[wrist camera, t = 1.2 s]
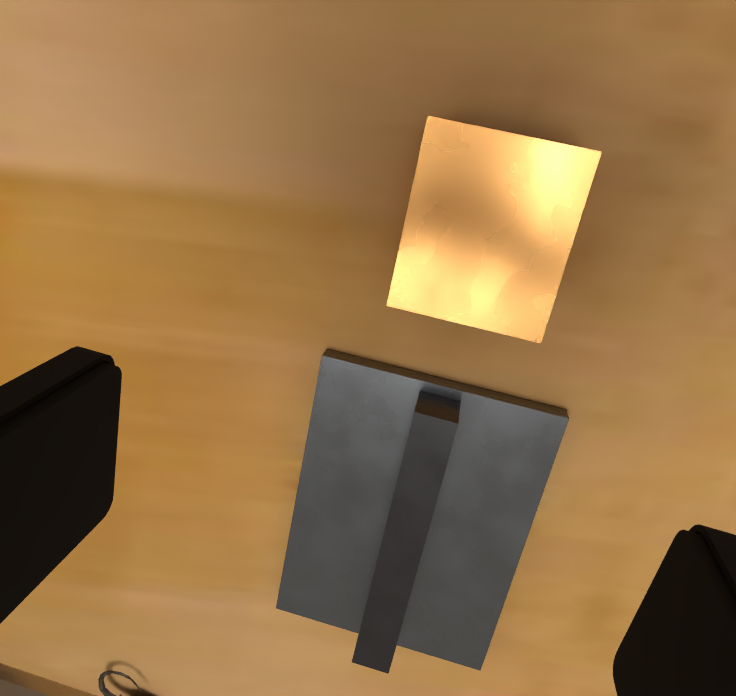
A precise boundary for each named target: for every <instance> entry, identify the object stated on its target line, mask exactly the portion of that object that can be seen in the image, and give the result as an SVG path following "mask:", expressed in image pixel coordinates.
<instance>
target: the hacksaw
mask: <svg viewBox="0 0 736 696" xmlns="http://www.w3.org/2000/svg"><path fill="white" fill-rule="evenodd" d="M111 673H114V674H118V675H121V676H124V677H126V678H128V679H130V680H131V681H132V682H133V683H134V684H135V685H136V686H137V688H138V689H139V690H140V688H139V687H138V685H137V684H136V683H135V682H134V681H133V680H132V679H131V678H130V677H129V676H127V675H125V674H123V673H121V672H116V671H111V670H110V671H106V672H104V673H102V674H101V675H100V677H99V689H100V691H101V692H102V693H103V695H104V696H116V695H114V694H112V693H111V692H110V691H109V690H108V689H107V688H105V684H104V680H103V679H104V677H105V676H106V675H108V674H111ZM140 692H142V691H141V690H140ZM120 696H122V695H121V694H120Z"/></svg>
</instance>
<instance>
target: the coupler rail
mask: <svg viewBox="0 0 736 696" xmlns="http://www.w3.org/2000/svg"><path fill="white" fill-rule="evenodd" d="M568 420H569V417H568V414H567V410H566V409H562V408H558V407H554V406H550V405H546V404H542V403H538V402H534V401H530V400H526V399H522V398H518V397H514V396H510V395H507V394H503V393H499V392H495V391H491V390H487V389H483V388H479V387H475V386H471V385H467V384H463V383H459V382H455V381H452V380H448V379H444V378H440V377H436V376H432V375H428V374H424V373H420V372H416V371H412V370H408V369H404V368H400V367H397V366H393V365H389V364H385V363H381V362H377V361H373V360H369V359H365V358H361V357H357V356H353V355H349V354H345V353H341V352H338V351H334V350H330V349H327V350H326V351H325V352H324V354H323V355H322V358H321V364H320V369H319V375H318V380H317V386H316V391H315V397H314V402H313V408H312V413H311V419H310V424H309V430H308V435H307V441H306V446H305V452H304V457H303V463H302V468H301V474H300V479H299V485H298V490H297V496H296V501H295V507H294V512H293V517H292V523H291V528H290V534H289V539H288V545H287V550H286V556H285V561H284V567H283V572H282V578H281V583H280V589H279V594H278V600H277V605H276V608H277V609H280V610H283V611H287V612H290V613H293V614H297V615H300V616H303V617H306V618H310V619H313V620H316V621H320V622H323V623H326V624H329V625H333V626H336V627H339V628H343V629H346V630H349V631H352V632H356V633H359V635H358V639H357V643H356V647H355V651H354V655H353V659H352V662H353V663H356V664H359V665H362V666H366V667H369V668H372V669H375V670H379V671H382V672H385V673H389V670H390V666H391V663H392V659H393V656H394V652H395V648H396V645H398V646H402V647H405V648H408V649H411V650H415V651H418V652H421V653H425V654H428V655H431V656H434V657H438V658H441V659H444V660H447V661H451V662H454V663H457V664H461V665H464V666H467V667H470V668H474V669H477V670H481V667H482V664H483V662H484V659H485V656H486V653H487V650H488V647H489V645H490V642H491V639H492V636H493V633H494V630H495V627H496V625H497V622H498V619H499V616H500V613H501V610H502V608H503V605H504V602H505V599H506V596H507V593H508V590H509V588H510V585H511V582H512V579H513V576H514V573H515V571H516V568H517V565H518V562H519V559H520V556H521V554H522V551H523V548H524V545H525V542H526V539H527V536H528V534H529V531H530V528H531V525H532V522H533V519H534V517H535V514H536V511H537V508H538V505H539V502H540V500H541V497H542V494H543V491H544V488H545V485H546V482H547V480H548V477H549V474H550V471H551V468H552V465H553V463H554V460H555V457H556V454H557V451H558V448H559V446H560V443H561V440H562V437H563V434H564V431H565V428H566V426H567V423H568Z"/></svg>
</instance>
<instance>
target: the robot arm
mask: <svg viewBox="0 0 736 696" xmlns="http://www.w3.org/2000/svg"><path fill="white" fill-rule="evenodd" d="M121 379H122V373H121V369H120V368H119V367H118V366H115V364H114V361H113V358H112V357H111V356H110V355H106V354H103V353H99V352H96V351H93V350H89V349H86V348H82V347H78V346H77V347H73V348H71V349H69V350H67V351H65V352H64V353H62V354H60V355H58V356H56V357H54V358H52V359H50V360H49V361H47V362H45V363H43V364H41V365H39V366H37V367H35V368H34V369H32V370H30V371H28V372H26V373H24V374H22V375H20V376H19V377H17V378H15V379H13V380H11V381H9V382H7V383H5V384H4V385H2V386H0V623H1V622H2V621H3V620H4V619H5V618H6V617H7V616H8V615H9V614H10V613H11V612H12V611H13V610H14V609H15V608H16V607H17V606H18V605H19V604H20V603H21V602H22V601H23V600H24V599H25V598H26V597H27V596H28V595H29V594H30V593H31V592H32V591H33V590H34V589H35V588H36V587H37V586H38V585H39V584H40V583H41V582H42V581H43V580H44V579H45V578H46V576H47V575H48V574H49V573H50V572H51V571H52V570H53V569H54V568H55V567H56V566H57V565H58V564H59V563H60V562H61V561H62V560H63V559H64V558H65V557H66V556H67V555H68V554H69V553H70V552H71V551H72V550H73V549H74V548H75V547H76V546H77V545H78V544H79V543H80V542H81V541H82V540H83V539H84V538H85V537H86V536H87V535H88V534H89V533H90V532H91V531H92V530H93V529H94V527H95V526H96V525H97V524H98V523H99V522H100V521H101V520H102V519H103V518H104V517H105V516H106V514H107V512H108V511H109V509H110V506H111V504H112V501H113V494H114V479H115V465H116V451H117V436H118V422H119V408H120V393H121ZM613 678H614V683H615V687H616V692H617V696H736V535H734V534H730V533H727V532H723V531H720V530H717V529H713V528H710V527H706V526H703V525H699V524H698V525H694V526H693V527H692V528H691V529H690V530H689V531H686V530H681V531H679V532H678V533H677V535H676V536H675V538H674V540H673V542H672V544H671V546H670V548H669V549H668V551H667V553H666V555H665V557H664V559H663V561H662V563H661V565H660V567H659V569H658V571H657V573H656V575H655V577H654V579H653V581H652V583H651V585H650V587H649V589H648V591H647V593H646V595H645V597H644V599H643V601H642V603H641V605H640V607H639V609H638V611H637V613H636V615H635V617H634V619H633V621H632V623H631V625H630V627H629V629H628V631H627V633H626V635H625V636H624V638H623V640H622V642H621V644H620V646H619V648H618V650H617V653H616V655H615V659H614V664H613ZM0 696H96V695H93V694H90V693H87V692H84V691H81V690H78V689H75V688H72V687H69V686H66V685H63V684H60V683H57V682H54V681H51V680H48V679H45V678H42V677H39V676H36V675H34V674H31V673H28V672H25V671H22V670H19V669H16V668H13V667H10V666H7V665H4V664H1V663H0Z"/></svg>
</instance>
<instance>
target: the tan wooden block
mask: <svg viewBox="0 0 736 696" xmlns="http://www.w3.org/2000/svg"><path fill="white" fill-rule="evenodd" d="M600 156H601V152H600V151H596V150H591V149H586V148H581V147H576V146H572V145H567V144H562V143H557V142H552V141H547V140H543V139H538V138H533V137H528V136H523V135H519V134H514V133H509V132H504V131H499V130H495V129H490V128H485V127H480V126H475V125H470V124H466V123H461V122H456V121H451V120H446V119H442V118H437V117H432V116H427V121H426V126H425V130H424V135H423V140H422V144H421V149H420V153H419V158H418V163H417V167H416V172H415V177H414V181H413V186H412V190H411V195H410V200H409V204H408V209H407V214H406V218H405V223H404V227H403V232H402V237H401V241H400V246H399V251H398V255H397V260H396V264H395V269H394V274H393V278H392V283H391V288H390V292H389V297H388V301H387V306H390V307H394V308H398V309H402V310H406V311H410V312H414V313H418V314H423V315H427V316H431V317H435V318H439V319H443V320H447V321H451V322H455V323H460V324H464V325H468V326H472V327H476V328H480V329H484V330H488V331H492V332H496V333H501V334H505V335H509V336H513V337H517V338H521V339H525V340H529V341H533V342H537V343H541V341H542V338H543V335H544V332H545V329H546V326H547V322H548V319H549V316H550V313H551V310H552V307H553V303H554V300H555V297H556V294H557V291H558V288H559V285H560V281H561V278H562V275H563V272H564V269H565V266H566V263H567V259H568V256H569V253H570V250H571V247H572V244H573V241H574V237H575V234H576V231H577V228H578V225H579V222H580V218H581V215H582V212H583V209H584V206H585V203H586V200H587V196H588V193H589V190H590V187H591V184H592V181H593V178H594V174H595V171H596V168H597V165H598V162H599V159H600Z"/></svg>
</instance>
